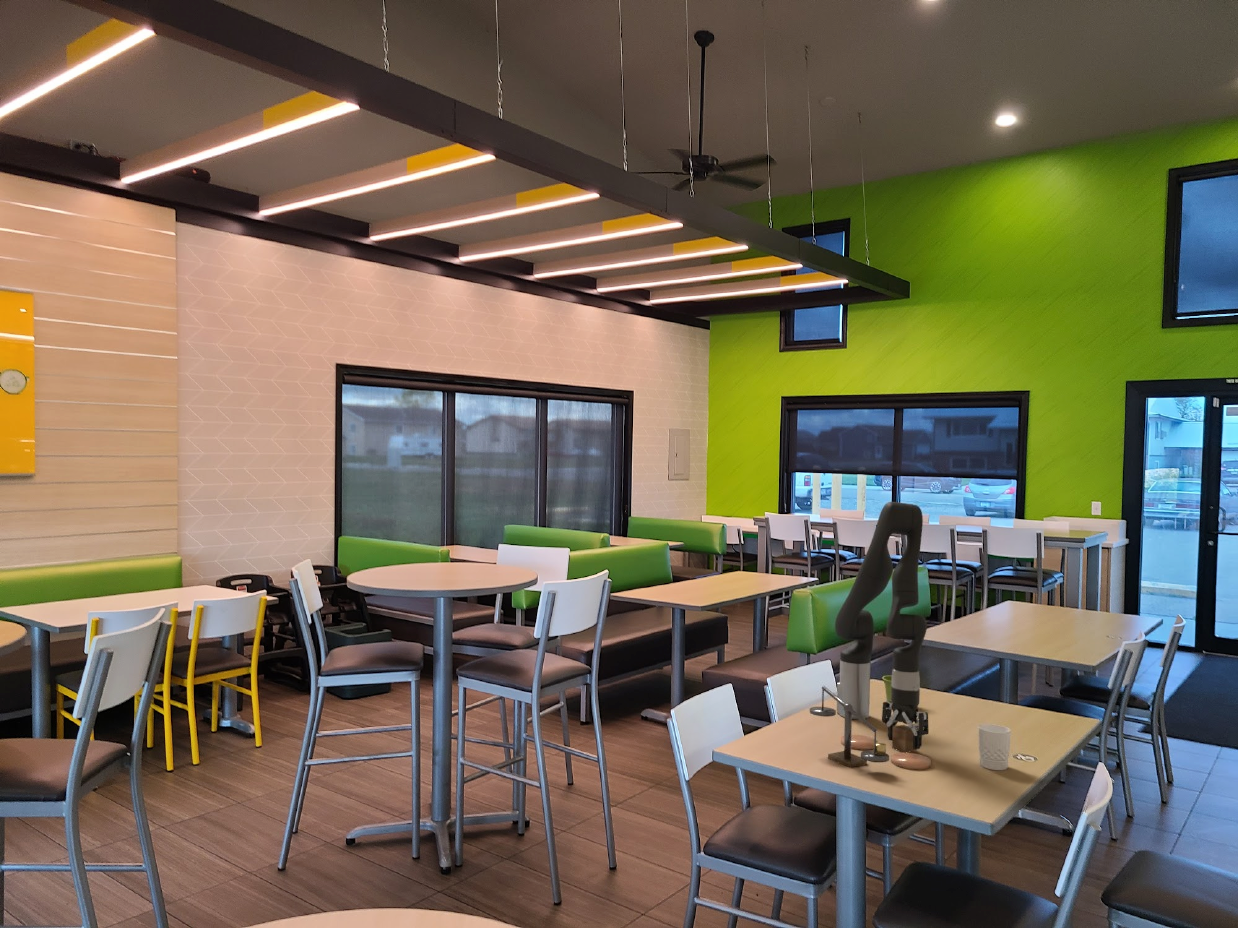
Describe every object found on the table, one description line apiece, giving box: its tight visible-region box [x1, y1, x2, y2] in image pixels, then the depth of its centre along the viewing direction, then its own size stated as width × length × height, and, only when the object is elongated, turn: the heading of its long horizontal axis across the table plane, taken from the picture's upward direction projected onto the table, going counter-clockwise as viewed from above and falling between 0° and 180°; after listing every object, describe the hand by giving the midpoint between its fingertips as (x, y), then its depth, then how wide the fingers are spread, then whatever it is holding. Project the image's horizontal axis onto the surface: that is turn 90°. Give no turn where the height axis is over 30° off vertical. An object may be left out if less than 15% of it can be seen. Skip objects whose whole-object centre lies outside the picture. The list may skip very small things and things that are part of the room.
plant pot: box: [881, 674, 893, 703], centre depth 291 cm, size 9×9×9 cm
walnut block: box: [891, 724, 917, 753], centre depth 243 cm, size 4×4×6 cm
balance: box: [809, 685, 890, 768], centre depth 232 cm, size 26×7×18 cm, turn 31°
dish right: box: [890, 752, 932, 771], centre depth 231 cm, size 10×10×1 cm
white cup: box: [977, 723, 1012, 771], centre depth 230 cm, size 8×8×10 cm
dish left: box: [840, 734, 879, 751], centre depth 247 cm, size 10×10×1 cm
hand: (904, 744), depth 243 cm, fingers open, 8 cm apart
